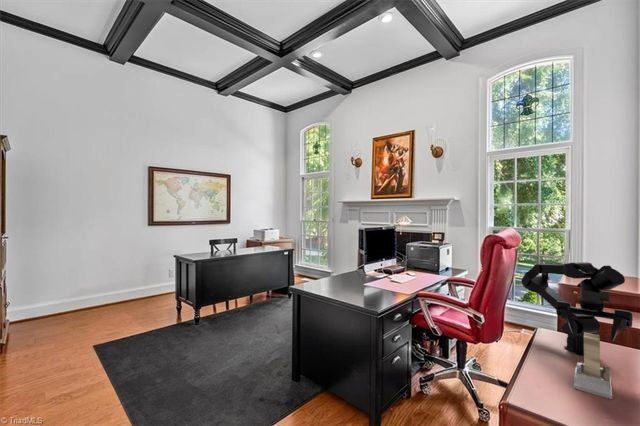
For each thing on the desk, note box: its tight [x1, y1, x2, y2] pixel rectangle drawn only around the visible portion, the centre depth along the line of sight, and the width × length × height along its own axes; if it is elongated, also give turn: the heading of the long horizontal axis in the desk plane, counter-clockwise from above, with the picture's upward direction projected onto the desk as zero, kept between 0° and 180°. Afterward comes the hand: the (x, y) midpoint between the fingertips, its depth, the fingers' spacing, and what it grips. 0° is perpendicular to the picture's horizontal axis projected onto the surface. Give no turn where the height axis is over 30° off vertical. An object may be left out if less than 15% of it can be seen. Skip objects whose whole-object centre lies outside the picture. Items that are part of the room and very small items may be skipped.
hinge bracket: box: [573, 361, 613, 400], centre depth 90 cm, size 14×8×5 cm, turn 138°
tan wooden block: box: [583, 332, 601, 378], centre depth 90 cm, size 4×4×13 cm
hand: (592, 336), depth 96 cm, fingers open, 9 cm apart
